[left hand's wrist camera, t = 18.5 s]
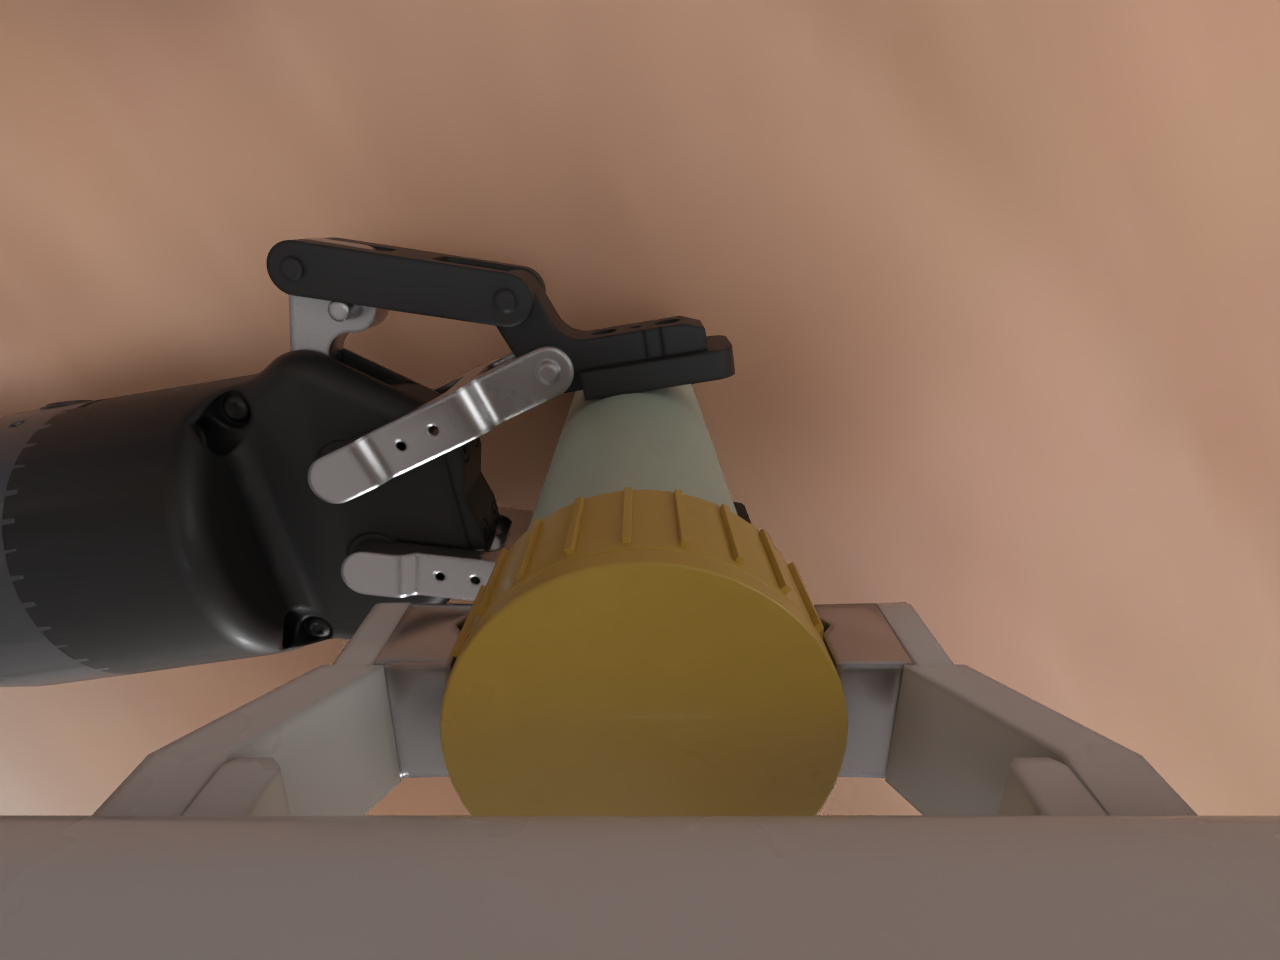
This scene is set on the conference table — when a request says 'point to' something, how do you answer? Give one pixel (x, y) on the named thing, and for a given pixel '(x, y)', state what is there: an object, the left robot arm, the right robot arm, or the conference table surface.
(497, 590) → the lid
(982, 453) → the conference table surface
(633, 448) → the jar
